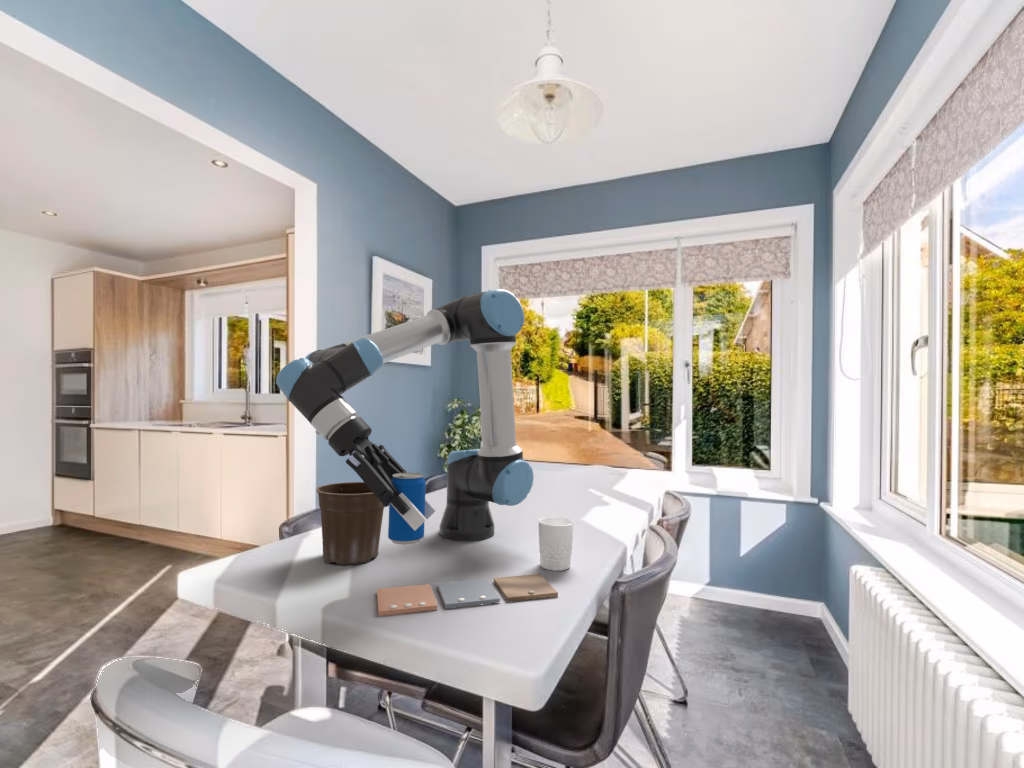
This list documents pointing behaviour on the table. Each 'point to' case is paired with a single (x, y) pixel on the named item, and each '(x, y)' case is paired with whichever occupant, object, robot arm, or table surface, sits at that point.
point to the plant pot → (349, 522)
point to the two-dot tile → (467, 593)
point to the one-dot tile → (524, 587)
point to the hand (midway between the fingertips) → (425, 520)
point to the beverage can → (415, 492)
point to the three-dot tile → (405, 600)
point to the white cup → (555, 543)
